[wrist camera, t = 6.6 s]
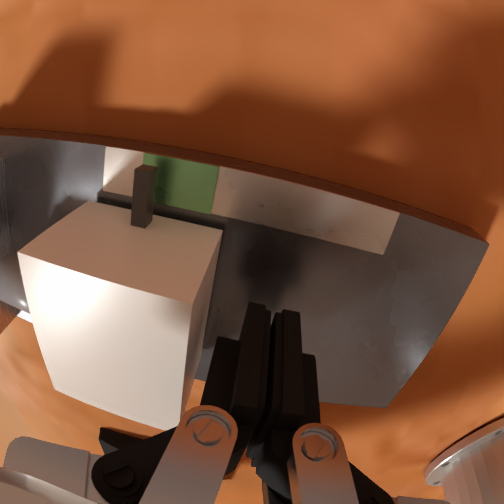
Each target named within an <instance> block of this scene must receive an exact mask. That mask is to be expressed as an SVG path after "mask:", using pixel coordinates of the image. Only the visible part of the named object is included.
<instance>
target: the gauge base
mask: <svg viewBox="0 0 504 504" xmlns="http://www.w3.org/2000/svg"><path fill="white" fill-rule="evenodd" d="M142 164H145V165H151V166H156V167H158V170H157V178H156V187H155V196H154V207H153V215H157V216H162V217H166V218H171V219H175V220H180V221H184V222H188V223H193V224H197V225H202V226H206V227H211V228H215V229H219V230H223V233H222V238H221V243H220V249H219V254H218V260H217V265H216V270H215V276H214V282H213V287H212V293H211V299H210V304H209V310H208V316H207V322H206V328H205V334H204V340H203V346H202V352H201V358H200V361H199V365H198V368H197V372H196V375H195V378H194V379H198V380H202V381H206V379H207V375H208V371H209V367H210V363H211V359H212V355H213V351H214V347H215V343H216V339H217V335H218V336H222V337H226V338H231V339H235V340H239V337H240V333H241V329H242V326H243V322H244V318H245V314H246V311H247V307H248V303H249V301H250V302H254V303H259V304H263V305H266V310H270V311H271V324H272V321H273V318H274V315H275V313H276V312H279V313H281V312H282V310H283V309H287V310H291V311H296V312H300V317H301V335H302V353H305V354H311V355H314V356H315V359H316V368H317V380H318V393H319V402H324V403H333V404H342V405H353V406H365V407H379V408H387V406H388V405H389V404H390V403H391V402H392V400H393V399H394V398H395V397H396V395H397V394H398V393H399V392H400V390H401V389H402V388H403V386H404V385H405V384H406V382H407V381H408V380H409V379H410V377H411V376H412V374H413V373H414V372H415V370H416V369H417V368H418V366H419V365H420V363H421V362H422V361H423V359H424V358H425V356H426V355H427V353H428V352H429V351H430V349H431V348H432V346H433V345H434V343H435V342H436V340H437V339H438V337H439V335H440V334H441V332H442V331H443V329H444V328H445V326H446V324H447V323H448V321H449V319H450V318H451V316H452V315H453V313H454V311H455V309H456V308H457V306H458V304H459V303H460V301H461V299H462V297H463V295H464V294H465V292H466V290H467V288H468V286H469V285H470V283H471V281H472V279H473V277H474V275H475V273H476V271H477V269H478V267H479V265H480V263H481V261H482V259H483V257H484V255H485V253H486V251H487V248H488V246H489V243H488V242H487V241H485V240H484V239H483V238H482V237H481V236H480V235H479V234H478V233H477V232H475V231H474V230H473V229H472V228H469V227H466V226H464V225H461V224H459V223H456V222H453V221H451V220H448V219H445V218H442V217H440V216H437V215H434V214H431V213H428V212H426V211H423V210H420V209H417V208H414V207H411V206H408V205H405V204H402V203H399V202H396V201H393V200H390V199H387V198H384V197H380V196H377V195H374V194H371V193H367V192H364V191H361V190H357V189H354V188H351V187H347V186H344V185H340V184H337V183H333V182H330V181H326V180H322V179H319V178H315V177H311V176H307V175H303V174H299V173H296V172H292V171H288V170H283V169H279V168H275V167H271V166H267V165H262V164H258V163H254V162H249V161H245V160H240V159H235V158H231V157H226V156H221V155H216V154H211V153H206V152H200V151H195V150H190V149H184V148H178V147H173V146H167V145H161V144H154V143H148V142H141V141H135V140H127V139H120V138H112V137H104V136H96V135H87V134H78V133H67V132H56V131H43V130H28V129H9V128H0V260H1V259H2V258H3V257H4V256H5V255H6V254H8V253H16V254H18V253H17V252H18V251H19V250H20V249H22V248H23V247H24V246H25V245H27V244H28V243H29V242H31V241H32V240H33V239H35V238H36V237H37V236H39V235H40V234H41V233H43V232H44V231H45V230H47V229H48V228H50V227H51V226H52V225H54V224H55V223H57V222H58V221H59V220H61V219H62V218H64V217H65V216H67V215H68V214H70V213H71V212H72V211H74V210H75V209H77V208H78V207H80V206H81V205H83V204H84V203H86V202H87V201H92V202H97V203H102V204H107V205H111V206H116V207H120V208H125V209H130V210H131V208H132V194H133V181H134V170H135V168H137V167H139V166H140V165H142ZM16 316H18V317H20V318H23V319H25V320H27V321H29V322H31V323H33V322H32V318H31V315H30V314H29V313H27V312H24V311H22V310H20V309H18V308H16V307H13V306H11V305H9V304H7V303H5V302H3V301H1V300H0V334H1V333H2V332H3V330H4V329H5V328H6V327H7V326H8V325H9V324H10V323H11V321H12V320H13V319H14V318H15V317H16Z"/></svg>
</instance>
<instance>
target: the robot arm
mask: <svg viewBox="0 0 504 504" xmlns="http://www.w3.org/2000/svg"><path fill="white" fill-rule="evenodd" d="M246 447H247V452H246V457H249V458H252V462H251V466H252V467H256V474H257V475H258V476H259V477H260V478H261V479H262V491H263V502H264V504H504V418H501V419H499V420H497V421H495V422H493V423H491V424H489V425H487V426H485V427H483V428H481V429H479V430H477V431H476V432H474V433H472V434H470V435H469V436H467V437H465V438H464V439H462V440H461V441H459V442H457V443H456V444H454V445H453V446H451V447H450V448H449V449H447V450H446V451H444V452H443V453H442V454H440V455H439V456H438V457H437V458H436V459H435V460H433V461H432V462H431V463H430V465H429V466H428V467H427V469H426V470H425V473H424V475H425V481H426V483H427V484H428V485H430V486H443V490H444V495H445V500H446V501H445V500H435V499H423V498H413V497H404V496H397V497H396V498H394V497H391V496H390V495H389V494H388V493H386V492H385V491H384V490H383V489H381V488H380V487H379V486H378V485H377V484H375V483H374V482H373V481H372V480H370V479H369V478H368V477H367V476H366V475H364V474H363V473H362V472H361V471H360V470H358V469H357V468H356V467H355V466H354V465H353V464H351V463H350V462H349V461H348V458H347V454H346V450H345V446H344V443H343V441H342V438H341V436H340V435H339V434H338V433H337V432H336V431H335V430H334V429H332V428H331V427H330V426H327V425H324V424H321V422H320V407H319V393H318V380H317V368H316V359H315V356H314V355H311V354H305V353H302V335H301V317H300V312H296V311H291V310H287V309H283V310H282V312H281V313H279V312H276V313H275V315H274V318H273V321H272V324H271V311H270V310H266V305H263V304H259V303H254V302H250V301H249V303H248V307H247V311H246V314H245V318H244V322H243V326H242V329H241V333H240V337H239V340H235V339H231V338H226V337H222V336H218V335H217V339H216V343H215V347H214V351H213V355H212V359H211V363H210V367H209V371H208V375H207V379H206V383H205V387H204V391H203V395H202V399H201V403H200V406H197V407H193V408H191V409H190V410H188V411H187V412H186V413H185V414H184V415H183V417H182V418H181V420H180V422H179V424H178V426H176V427H174V428H171V429H169V430H167V431H164V432H162V433H160V434H157V435H155V436H152V437H150V438H148V439H145V440H143V441H140V442H138V443H135V444H132V445H130V446H127V447H124V448H122V449H119V450H116V451H114V452H111V453H108V454H106V455H104V456H102V455H96V454H90V453H89V451H86V450H81V449H76V448H71V447H66V446H62V445H58V444H54V443H50V442H46V441H42V440H38V439H34V438H31V437H19V438H15V439H14V440H13V441H12V442H11V443H10V444H9V446H8V448H7V452H6V456H5V460H4V465H3V467H0V504H214V502H215V499H216V496H217V494H218V491H219V488H220V485H221V482H222V480H223V477H224V476H225V475H226V474H228V473H230V472H232V471H233V470H235V468H236V466H237V464H238V462H239V460H240V458H241V456H242V454H243V453H244V451H245V449H246Z"/></svg>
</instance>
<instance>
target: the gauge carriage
mask: <svg viewBox="0 0 504 504" xmlns="http://www.w3.org/2000/svg"><path fill="white" fill-rule="evenodd" d="M157 170H158V167H156V166H151V165H145V164H142V165H140V166H139V167H137V168H135V170H134V181H133V194H132V208H131V210H130V209H125V208H120V207H116V206H111V205H107V204H102V203H97V202H92V201H87V202H86V203H84V204H83V205H81V206H80V207H78V208H77V209H75V210H74V211H72V212H71V213H70V214H68V215H67V216H65V217H64V218H62V219H61V220H59V221H58V222H57V223H55V224H54V225H52V226H51V227H50V228H48V229H47V230H45V231H44V232H43V233H41V234H40V235H39V236H37V237H36V238H35V239H33V240H32V241H31V242H29V243H28V244H27V245H25V246H24V247H23V248H22V249H20V250H19V251H18V252H17V253H18V254H16V253H8V254H6V255H5V256H4V257H3V258H2V259H1V260H0V300H1V301H3V302H5V303H7V304H9V305H11V306H13V307H16V308H18V309H20V310H22V311H24V312H27V313H29V314H30V315H31V318H32V322H33V326H34V329H35V333H36V336H37V339H38V343H39V346H40V349H41V352H42V355H43V358H44V361H45V364H46V367H47V370H48V373H49V375H50V378H51V381H52V383H53V386H54V388H55V390H57V391H59V392H61V393H64V394H66V395H68V396H70V397H73V398H75V399H77V400H80V401H82V402H85V403H87V404H89V405H92V406H94V407H97V408H100V409H102V410H105V411H108V412H110V413H113V414H116V415H119V416H121V417H124V418H127V419H130V420H133V421H136V422H139V423H142V424H146V425H149V426H152V427H155V428H159V429H162V430H166V431H167V430H169V429H171V428H174V427H176V426H178V424H179V422H180V420H181V418H182V417H183V415H184V413H185V410H186V406H187V403H188V399H189V396H190V392H191V389H192V385H193V382H194V378H195V375H196V372H197V368H198V365H199V361H200V358H201V352H202V346H203V340H204V334H205V328H206V322H207V316H208V310H209V304H210V299H211V293H212V287H213V282H214V276H215V270H216V265H217V260H218V254H219V249H220V243H221V238H222V233H223V230H219V229H215V228H211V227H206V226H202V225H197V224H193V223H188V222H184V221H180V220H175V219H171V218H166V217H162V216H157V215H153V207H154V196H155V187H156V178H157Z"/></svg>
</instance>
